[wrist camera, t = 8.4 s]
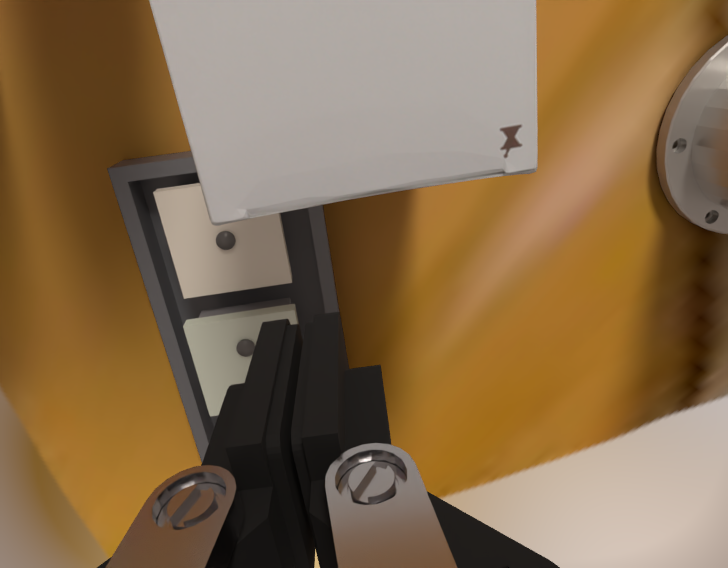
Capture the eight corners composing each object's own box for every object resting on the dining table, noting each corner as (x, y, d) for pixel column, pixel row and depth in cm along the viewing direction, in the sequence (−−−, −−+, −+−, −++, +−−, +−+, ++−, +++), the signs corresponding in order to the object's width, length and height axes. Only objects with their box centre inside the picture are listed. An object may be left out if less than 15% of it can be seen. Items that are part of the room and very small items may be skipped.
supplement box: (408, -79, 25) (559, -291, 10) (426, 114, 29) (557, 174, 14) (216, -49, 25) (71, -217, 10) (260, 142, 29) (204, 235, 14)
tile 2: (295, 290, 30) (294, 311, 28) (311, 375, 33) (312, 402, 30) (193, 305, 30) (182, 328, 27) (217, 390, 32) (209, 418, 30)
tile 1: (274, 166, 29) (271, 176, 26) (293, 265, 31) (291, 284, 28) (166, 181, 28) (152, 193, 26) (193, 280, 31) (183, 300, 28)
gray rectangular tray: (311, 134, 29) (312, 140, 27) (360, 445, 38) (363, 469, 36) (122, 160, 29) (107, 168, 26) (217, 469, 38) (212, 494, 36)
